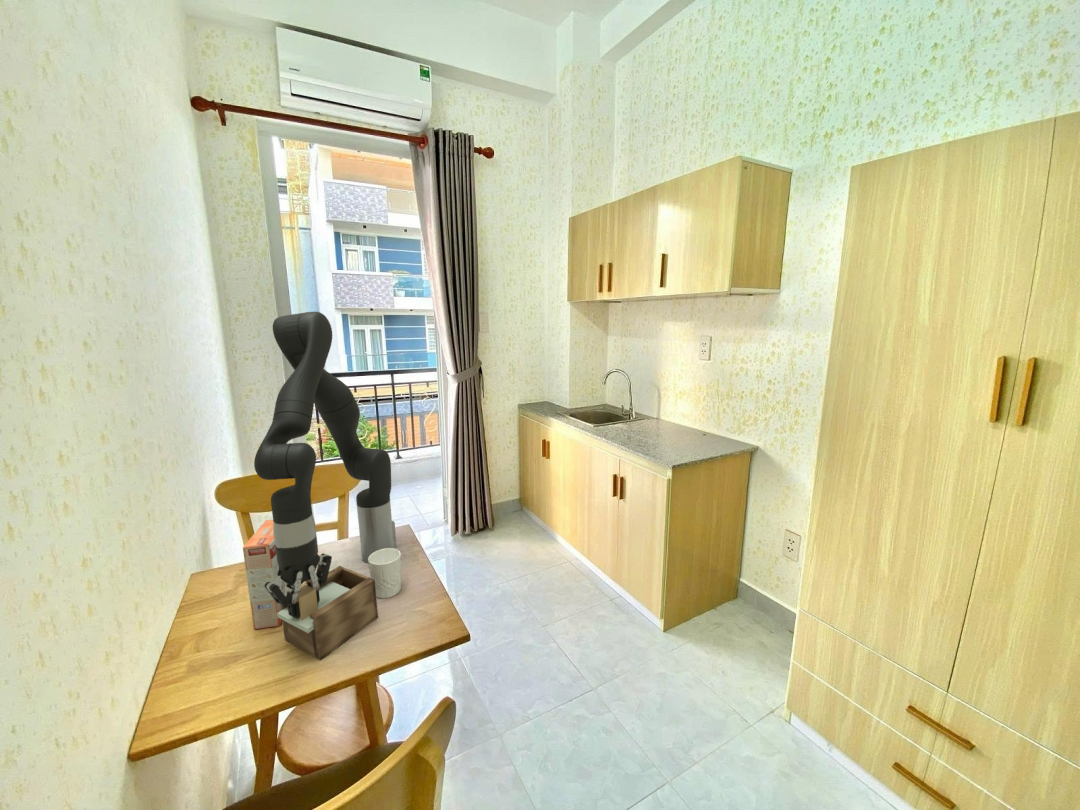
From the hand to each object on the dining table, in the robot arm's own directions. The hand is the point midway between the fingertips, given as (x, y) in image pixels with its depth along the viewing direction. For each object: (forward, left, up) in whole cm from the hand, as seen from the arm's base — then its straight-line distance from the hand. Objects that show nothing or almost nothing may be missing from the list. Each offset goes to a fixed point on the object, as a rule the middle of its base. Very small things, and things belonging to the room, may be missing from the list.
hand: (304, 610), depth 92 cm
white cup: (-22, 0, -9) cm, 24 cm away
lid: (-4, 0, -1) cm, 4 cm away
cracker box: (-4, -18, -9) cm, 20 cm away
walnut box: (-6, 0, -8) cm, 10 cm away
